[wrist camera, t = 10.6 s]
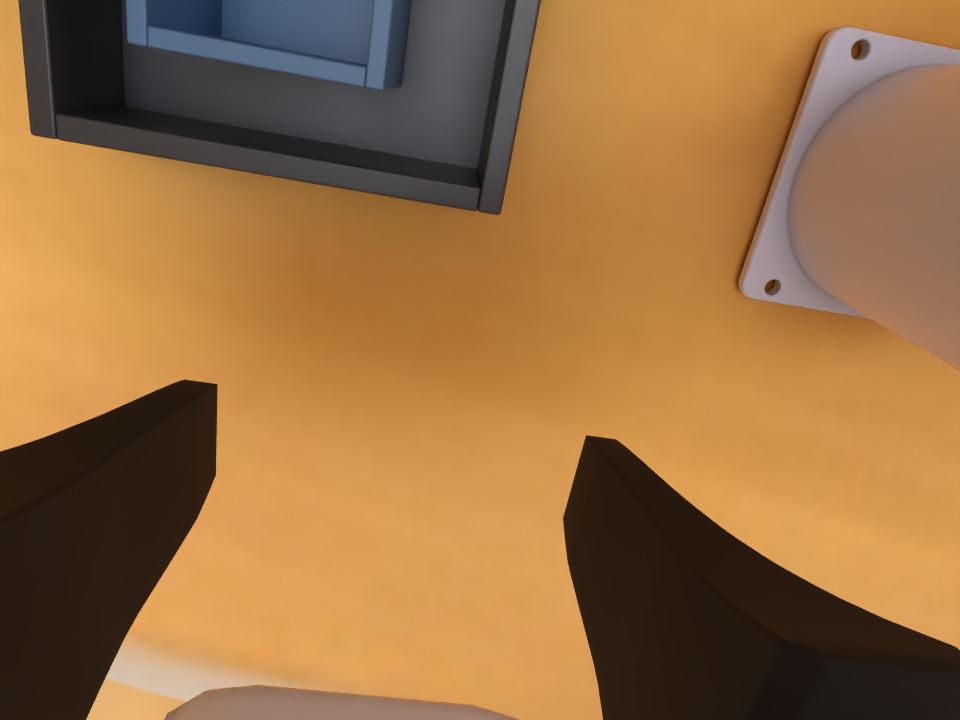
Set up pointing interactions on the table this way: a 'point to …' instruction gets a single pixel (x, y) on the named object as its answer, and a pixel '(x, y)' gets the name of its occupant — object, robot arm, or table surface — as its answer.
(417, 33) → the charcoal bin
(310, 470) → the table surface
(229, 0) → the blue bin
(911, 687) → the robot arm
